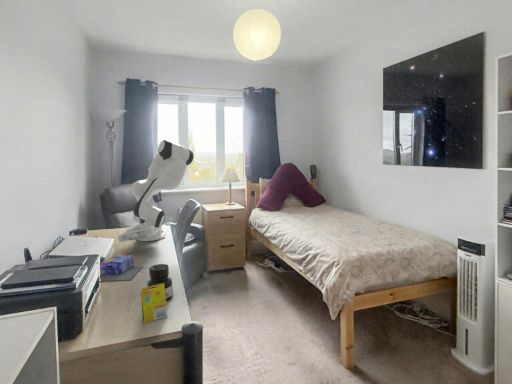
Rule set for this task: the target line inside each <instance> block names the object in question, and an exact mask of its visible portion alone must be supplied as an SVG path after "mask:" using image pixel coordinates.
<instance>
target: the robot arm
mask: <svg viewBox="0 0 512 384" xmlns="http://www.w3.org/2000/svg"><path fill="white" fill-rule="evenodd" d="M193 160H194V152H193V151H192V150H191V149H190V148H187V147H185V146H184V145H181V144H178V143H176V142H173V141H171V140H169V139H163V140H162V141H161V142H160V143H159V145H158V148H157V154H156V155H155V157H154V158H153V160H152V162H151V163H150V165H149V167H148V175H147V177H146V178H145V179H139V180H136V181H134V182H133V183H132V184H131V187H130V192H131V194H132V196H134V197H135V199H136V202H135V205H134V206H133V208H132V212H133V215H134V217H136V218H138V219H139V224H137V225H135V226H133V227H131V228H129V229H126V231H124V232H122V233H120V234H118V235H117V239H118V242H119V243H123V242H127V241H132V242H133V241H141V242H152V241H157V240H161V239H166V236H167V235H166V234H167V231H163V224H164V221H165V219H166V214H165V212H164V209H163V210H162V209H161V208H159V207H158V203H156V202H155V200H154V197H153V196H156V195H158V194H159V193H161V191H162V190H165V191H166V190H167V191H171V190H175V189H177V188H178V187H179V186H180V184H181V182H182V180H183V178H184V175H185V172H186V169H187V166H189V165H190V164H191V163H193Z"/></svg>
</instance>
